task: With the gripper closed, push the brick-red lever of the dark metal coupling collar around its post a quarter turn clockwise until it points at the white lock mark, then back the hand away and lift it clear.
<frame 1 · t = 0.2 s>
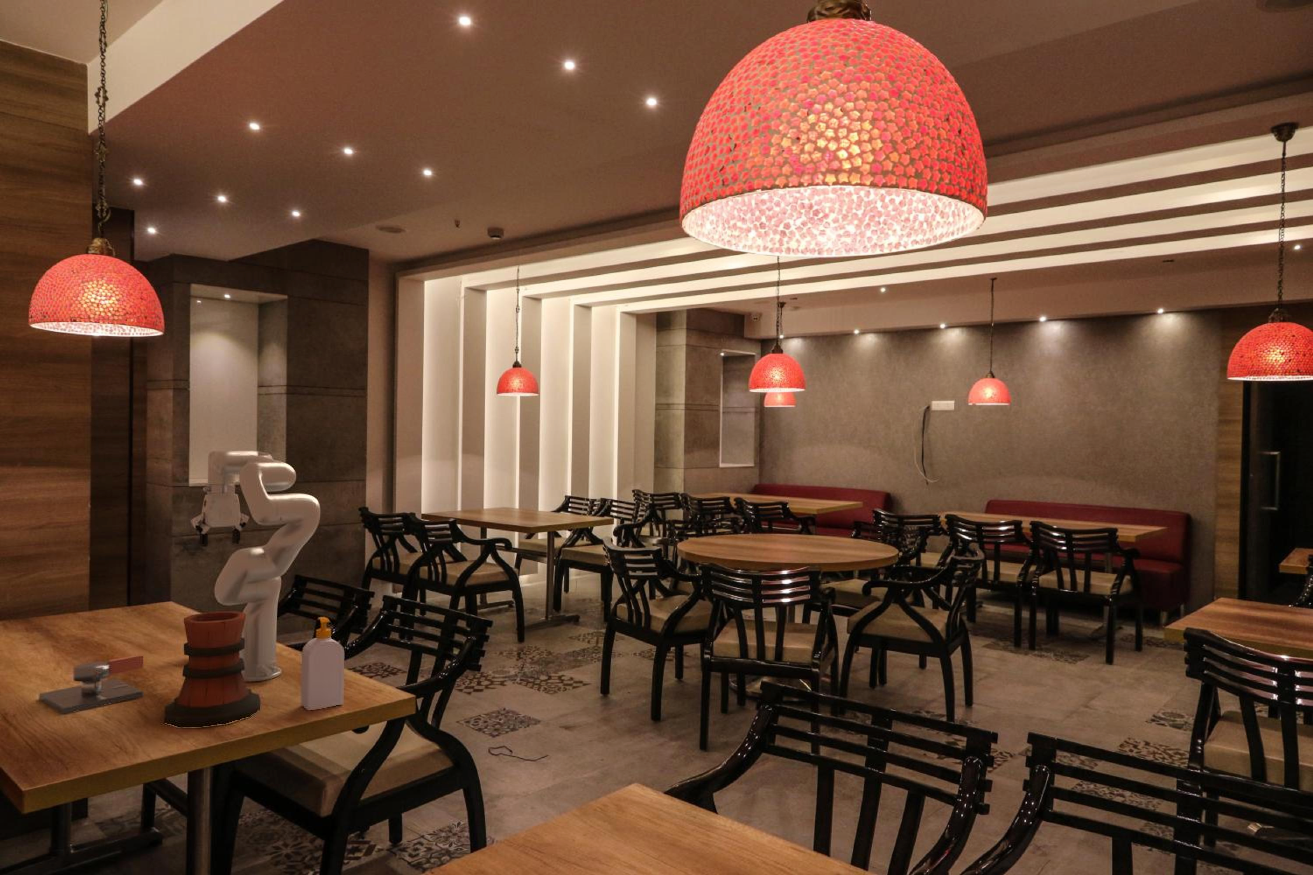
hand: (220, 544, 252), 36 cm above the table, tool pointing down, fingers open, 9 cm apart
post base: (91, 698, 215), on the table
red-brown flared vessel: (214, 712, 207), on the table
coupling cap: (109, 667, 218), point 7 cm above the table, hinge at 0.0°
soap bottle: (321, 705, 213), on the table
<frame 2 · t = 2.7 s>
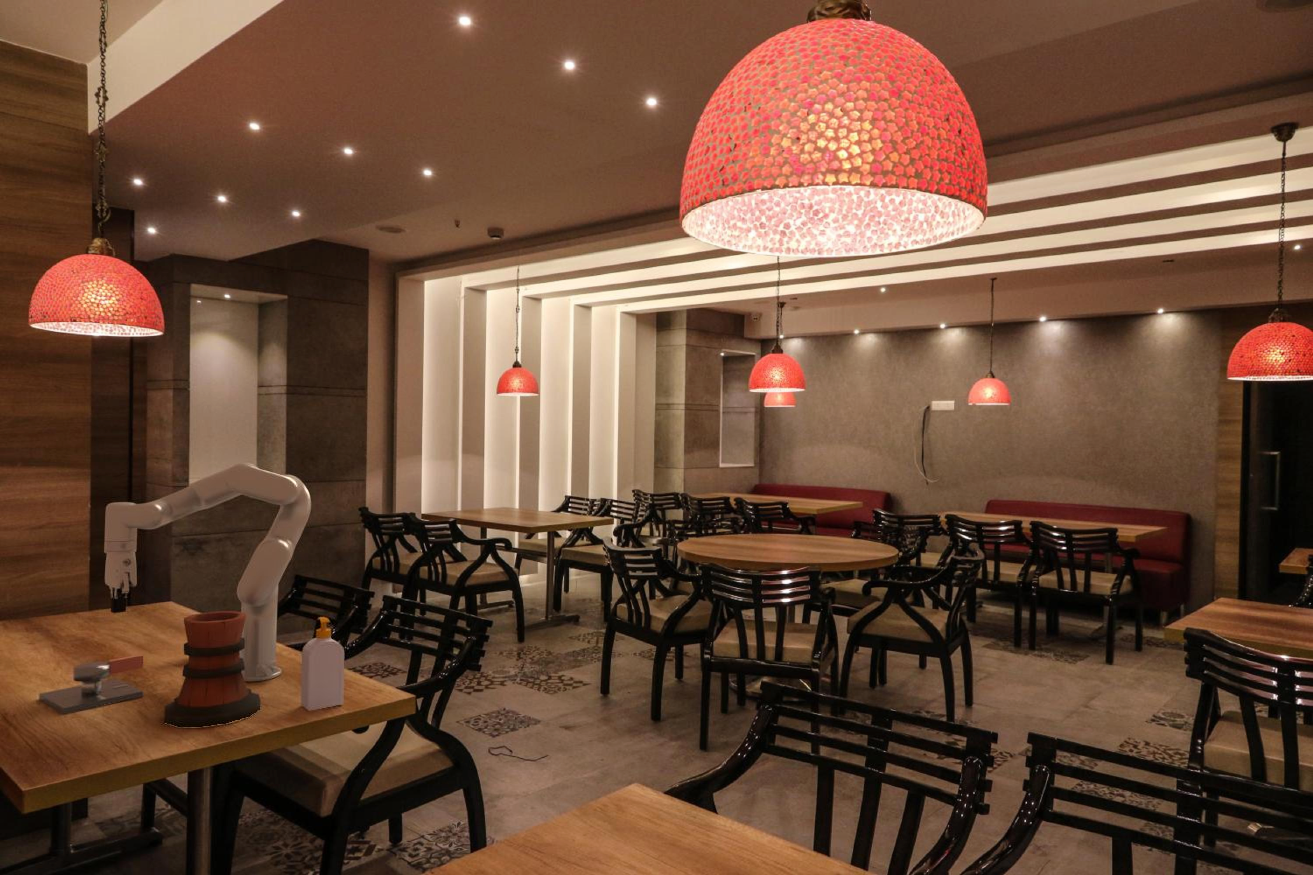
hand: (118, 611, 226), 21 cm above the table, tool pointing down, fingers closed
nothing on the table moved.
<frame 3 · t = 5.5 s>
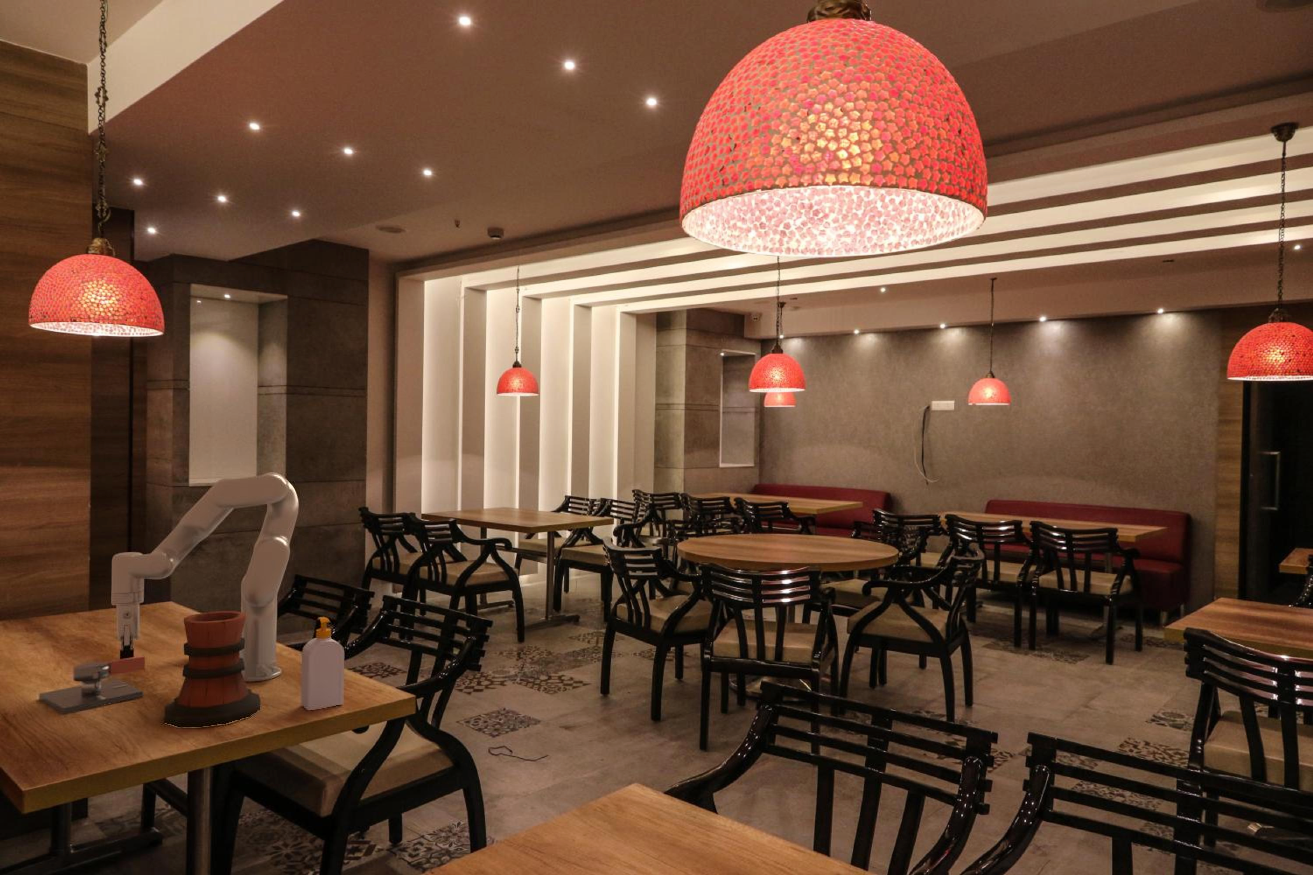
hand: (126, 663, 223), 7 cm above the table, tool pointing down, fingers closed
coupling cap: (109, 667, 218), point 7 cm above the table, hinge at -8.6°, touching gripper
everything else where it was.
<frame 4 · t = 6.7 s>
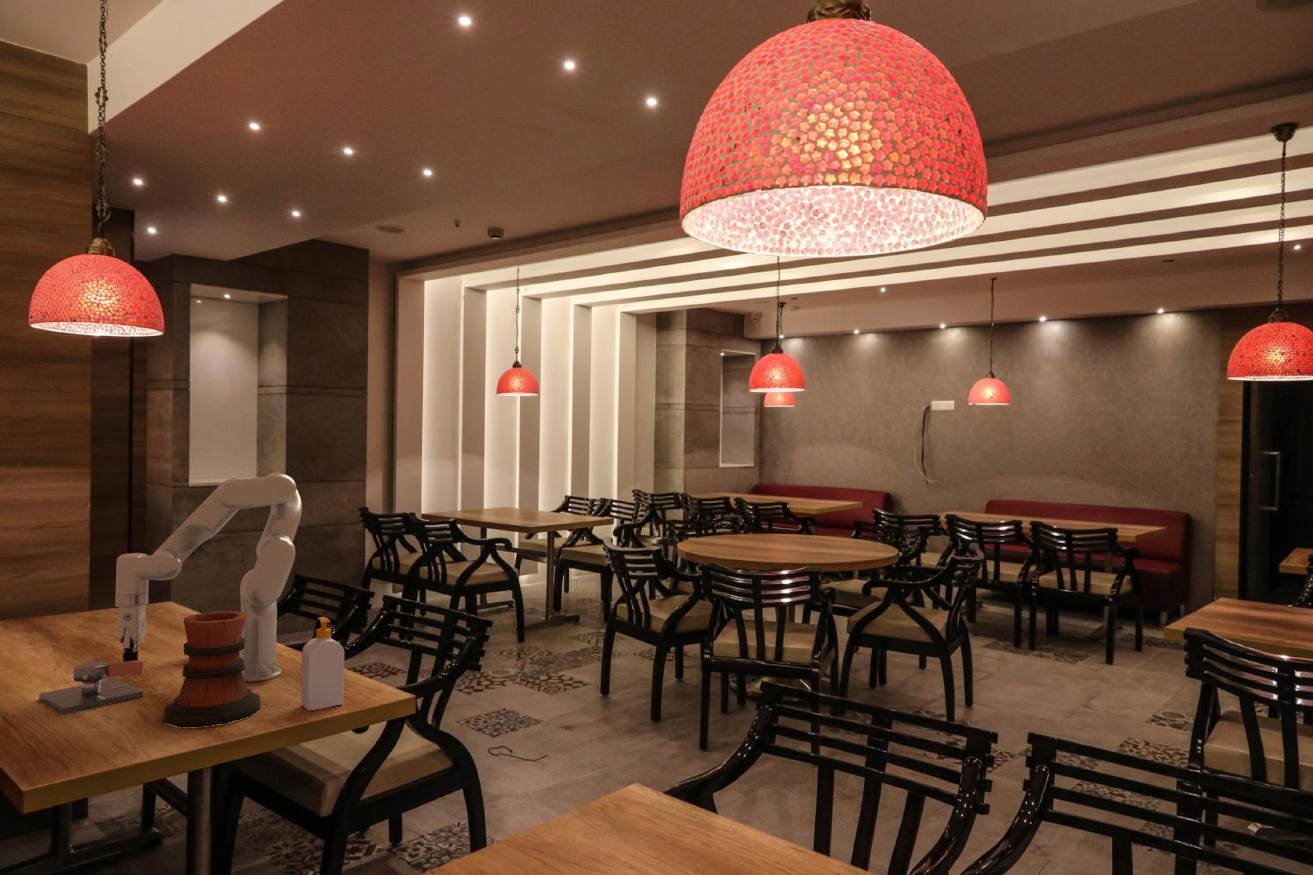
hand: (130, 666, 220), 7 cm above the table, tool pointing down, fingers closed
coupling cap: (109, 669, 216), point 7 cm above the table, hinge at -34.6°, touching gripper
everything else where it was.
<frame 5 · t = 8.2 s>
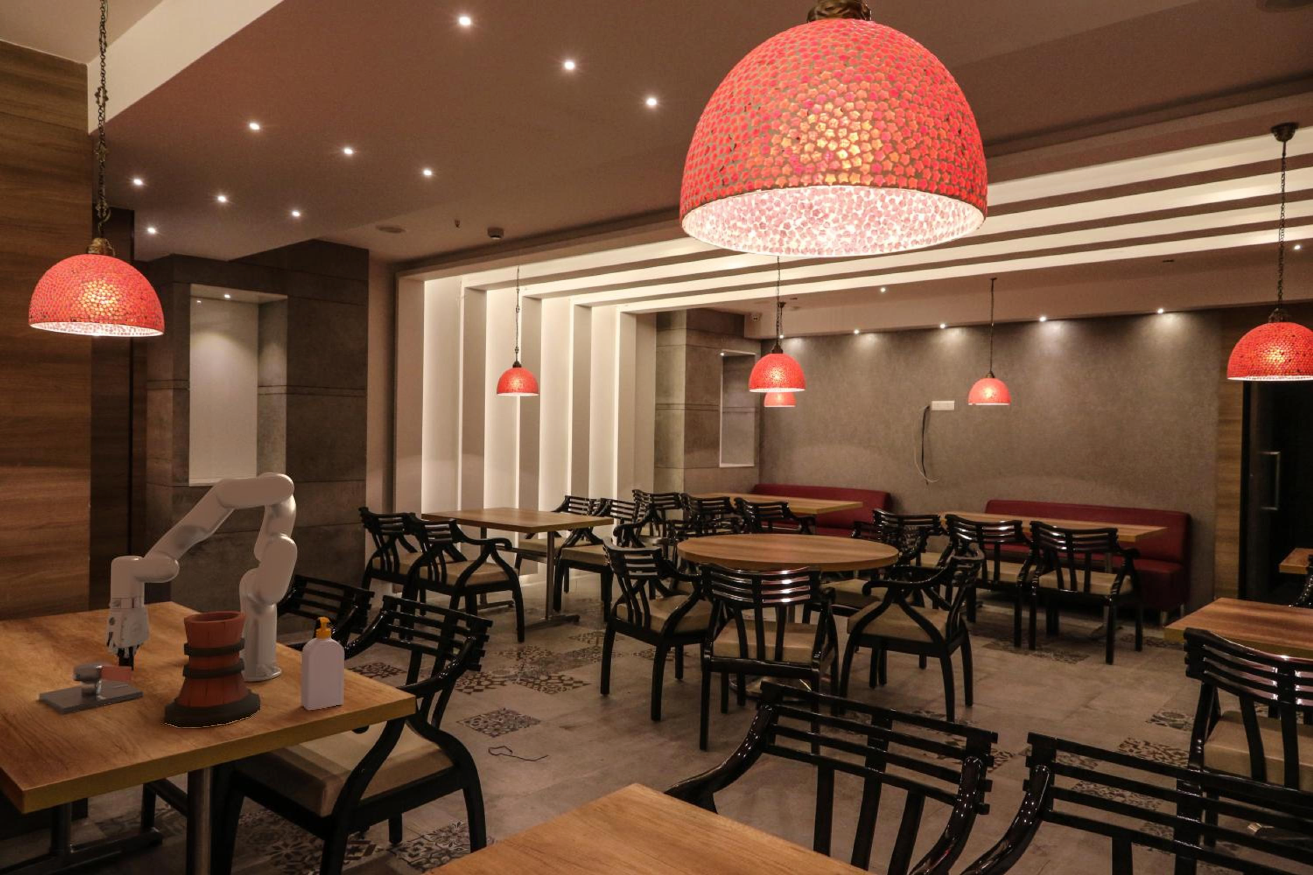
hand: (126, 671, 216), 7 cm above the table, tool pointing down, fingers closed
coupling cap: (104, 671, 214), point 7 cm above the table, hinge at -66.2°, touching gripper
everything else where it was.
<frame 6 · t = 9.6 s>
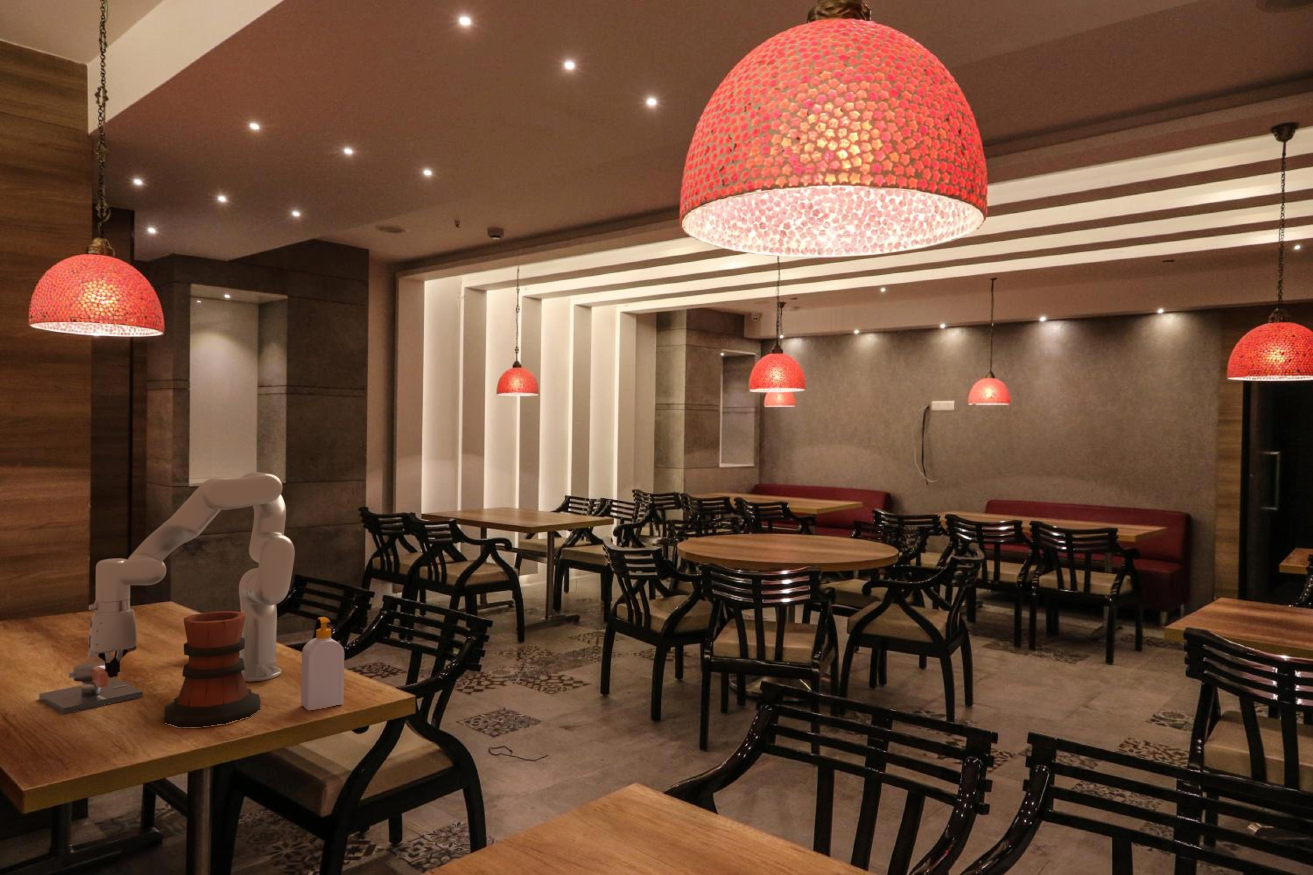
hand: (112, 675, 211), 7 cm above the table, tool pointing down, fingers closed
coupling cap: (95, 673, 212), point 7 cm above the table, hinge at -95.6°, touching gripper
everything else where it was.
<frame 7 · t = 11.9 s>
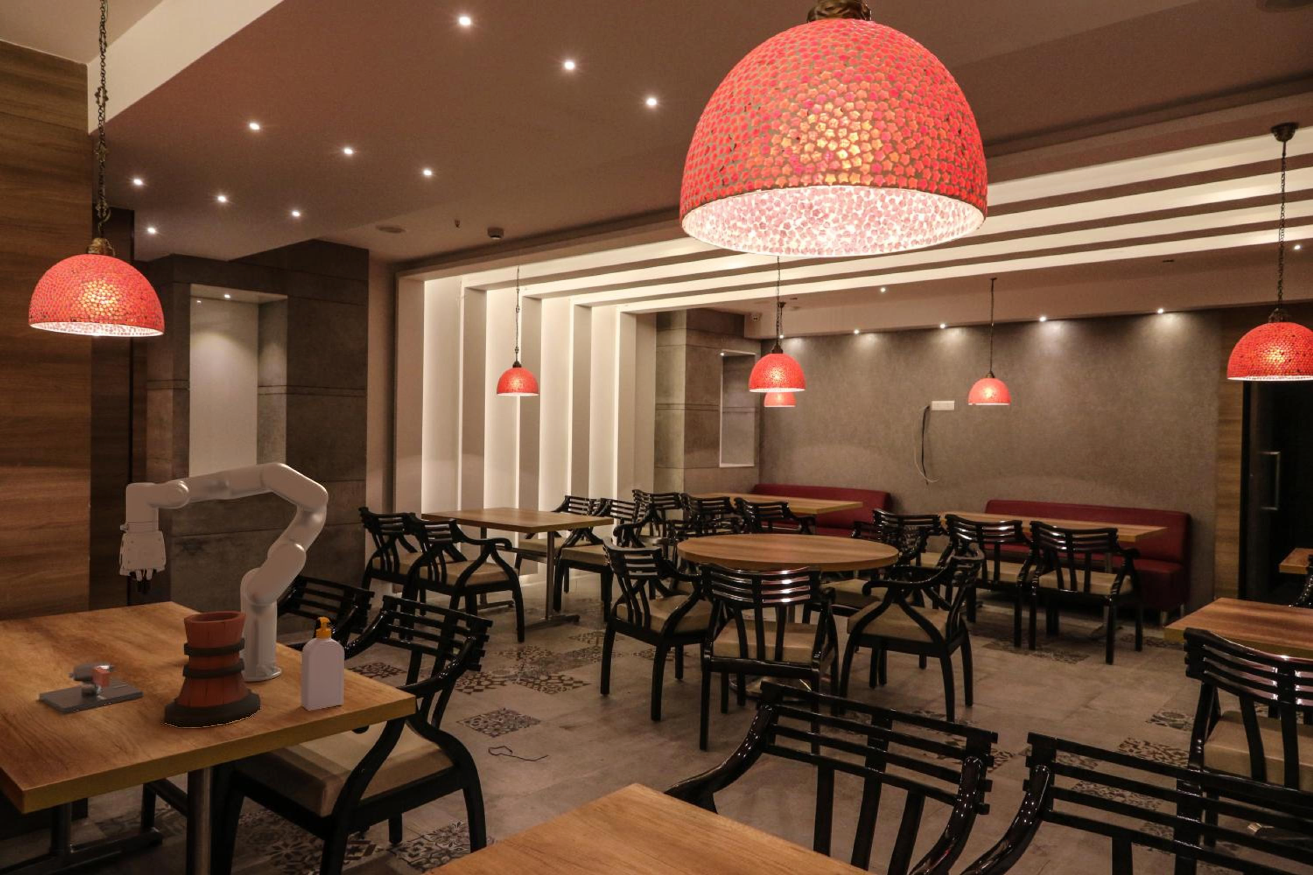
hand: (142, 593, 222), 27 cm above the table, tool pointing down, fingers closed
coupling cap: (96, 673, 212), point 7 cm above the table, hinge at -93.7°
everything else where it was.
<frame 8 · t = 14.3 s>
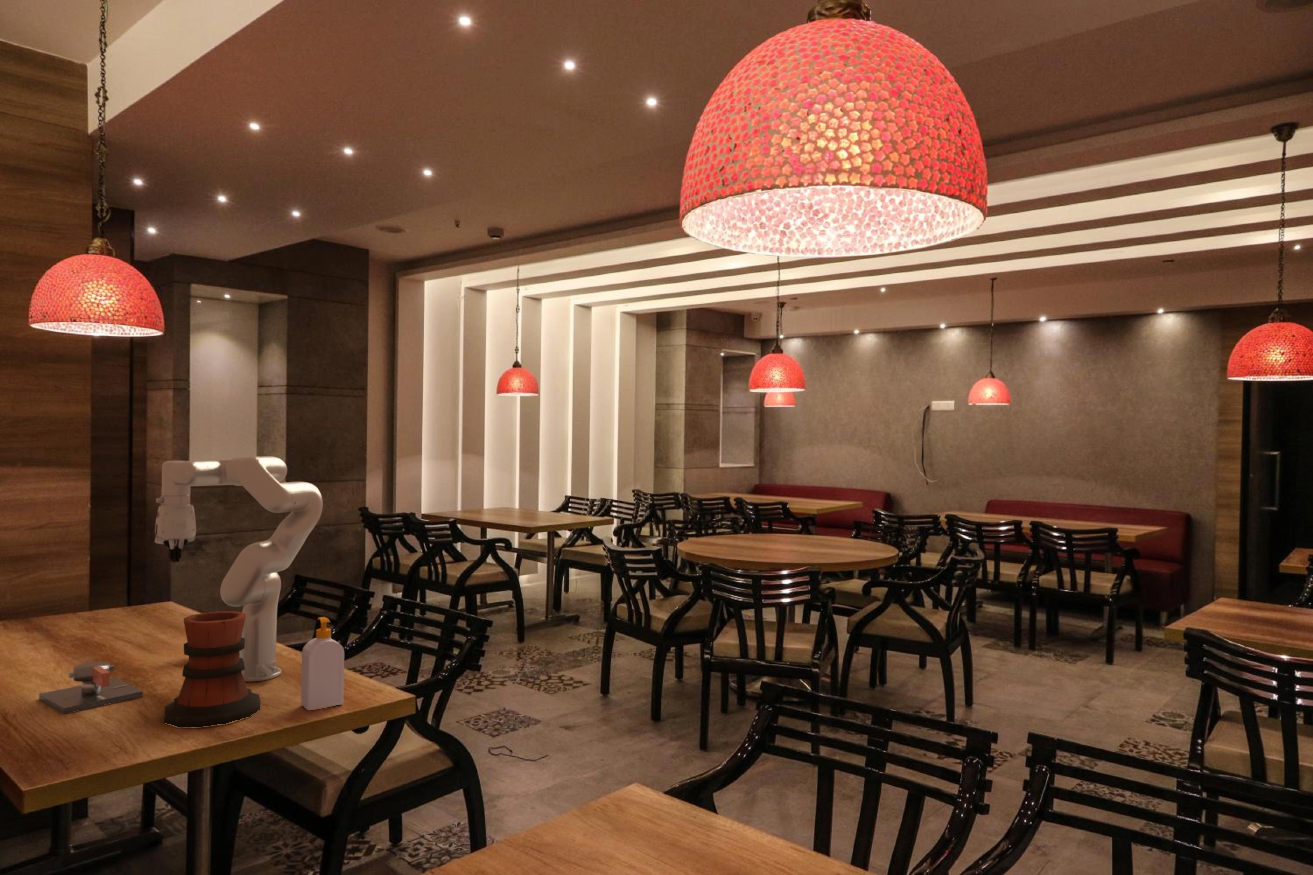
hand: (174, 561, 245), 32 cm above the table, tool pointing down, fingers closed
nothing on the table moved.
at the end: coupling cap at -94° (first picture: +0°); the gripper is holding nothing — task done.
